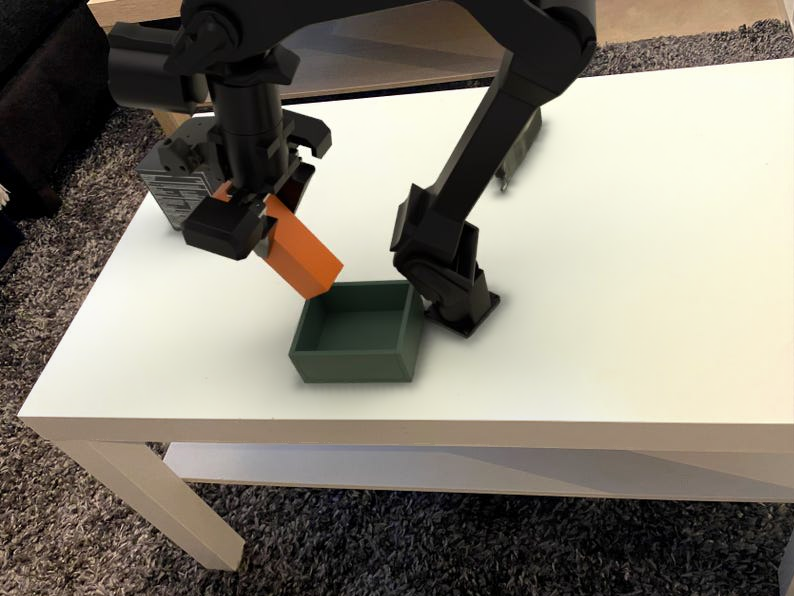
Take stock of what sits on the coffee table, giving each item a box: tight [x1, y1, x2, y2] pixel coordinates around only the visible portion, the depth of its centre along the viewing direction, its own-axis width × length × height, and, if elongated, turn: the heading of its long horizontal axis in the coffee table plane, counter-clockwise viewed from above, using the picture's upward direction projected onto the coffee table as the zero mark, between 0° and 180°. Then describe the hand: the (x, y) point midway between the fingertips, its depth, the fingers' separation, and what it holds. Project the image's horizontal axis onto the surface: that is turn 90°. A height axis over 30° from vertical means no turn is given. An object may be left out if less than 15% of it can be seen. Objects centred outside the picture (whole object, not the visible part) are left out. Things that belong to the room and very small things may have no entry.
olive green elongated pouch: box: [494, 107, 543, 193], centre depth 96 cm, size 5×3×15 cm
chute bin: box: [287, 279, 427, 384], centre depth 80 cm, size 12×10×5 cm
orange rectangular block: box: [212, 181, 345, 301], centre depth 75 cm, size 4×4×14 cm
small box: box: [134, 140, 223, 232], centre depth 96 cm, size 11×6×10 cm, turn 74°
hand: (273, 243), depth 77 cm, fingers closed on orange rectangular block, 4 cm apart
